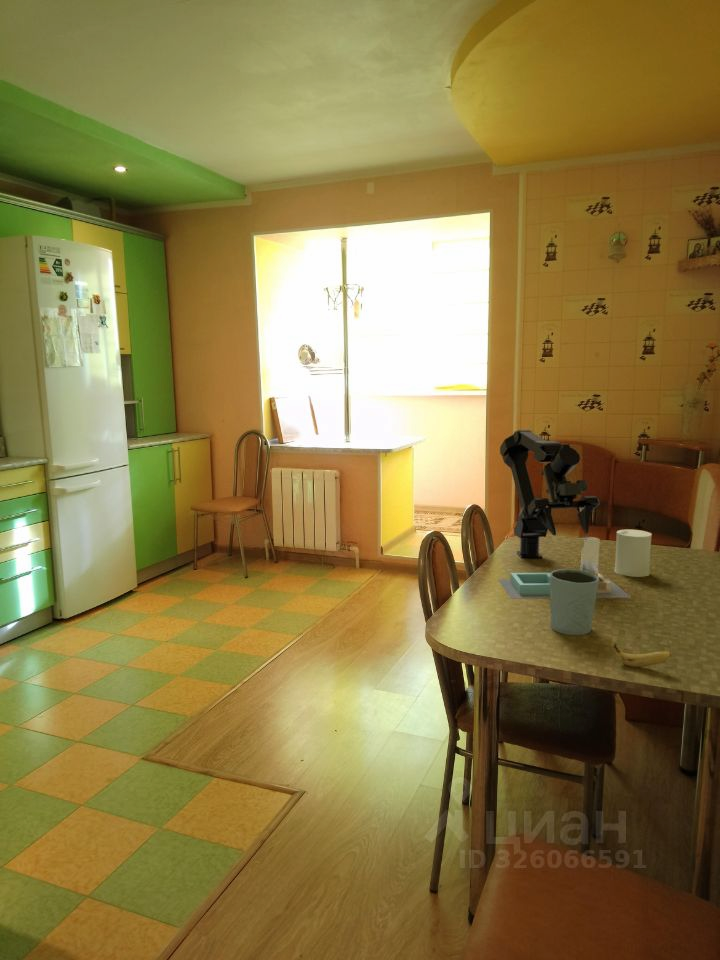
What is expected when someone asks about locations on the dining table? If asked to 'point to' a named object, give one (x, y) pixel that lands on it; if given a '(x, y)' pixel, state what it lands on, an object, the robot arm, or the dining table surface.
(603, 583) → the socket block
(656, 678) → the dining table surface
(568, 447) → the robot arm
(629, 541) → the can
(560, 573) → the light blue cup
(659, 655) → the banana
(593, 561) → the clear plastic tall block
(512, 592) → the mat
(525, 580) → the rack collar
